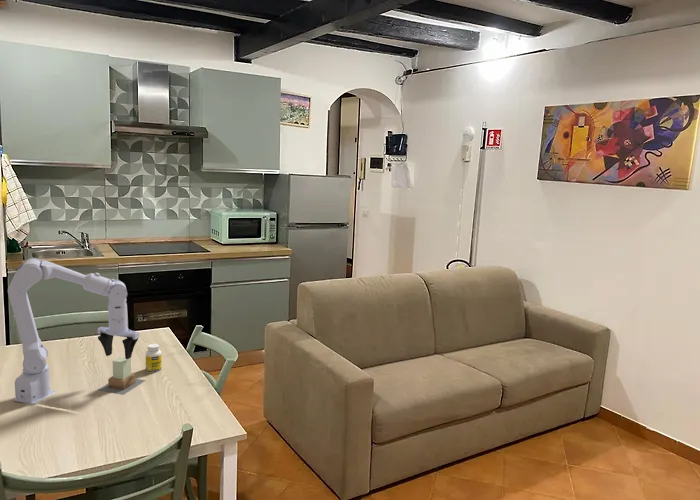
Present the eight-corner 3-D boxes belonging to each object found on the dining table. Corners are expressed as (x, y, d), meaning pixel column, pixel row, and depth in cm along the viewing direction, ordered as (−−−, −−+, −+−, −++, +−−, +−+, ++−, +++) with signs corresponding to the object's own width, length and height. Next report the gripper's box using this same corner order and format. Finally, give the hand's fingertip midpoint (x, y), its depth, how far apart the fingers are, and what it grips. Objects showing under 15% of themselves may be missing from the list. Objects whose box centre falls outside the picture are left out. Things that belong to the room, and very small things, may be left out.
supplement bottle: (151, 375, 195) (150, 349, 193) (142, 371, 198) (142, 345, 196) (164, 371, 199) (164, 345, 197) (155, 367, 202) (155, 341, 201)
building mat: (123, 396, 178) (123, 394, 178) (97, 391, 180) (97, 389, 180) (145, 382, 189) (145, 380, 189) (120, 377, 192) (120, 376, 192)
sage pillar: (123, 379, 182) (123, 362, 181) (113, 377, 183) (112, 360, 182) (131, 375, 186) (130, 358, 185) (120, 373, 187) (120, 356, 186)
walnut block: (124, 389, 181) (123, 381, 180) (108, 387, 182) (108, 378, 182) (135, 382, 187) (135, 374, 186) (120, 380, 188) (119, 372, 188)
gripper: (144, 317, 183) (144, 355, 186) (107, 311, 187) (108, 349, 189) (130, 323, 177) (131, 362, 179) (92, 317, 180) (93, 356, 182)
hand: (118, 356), depth 184 cm, fingers open, 7 cm apart
